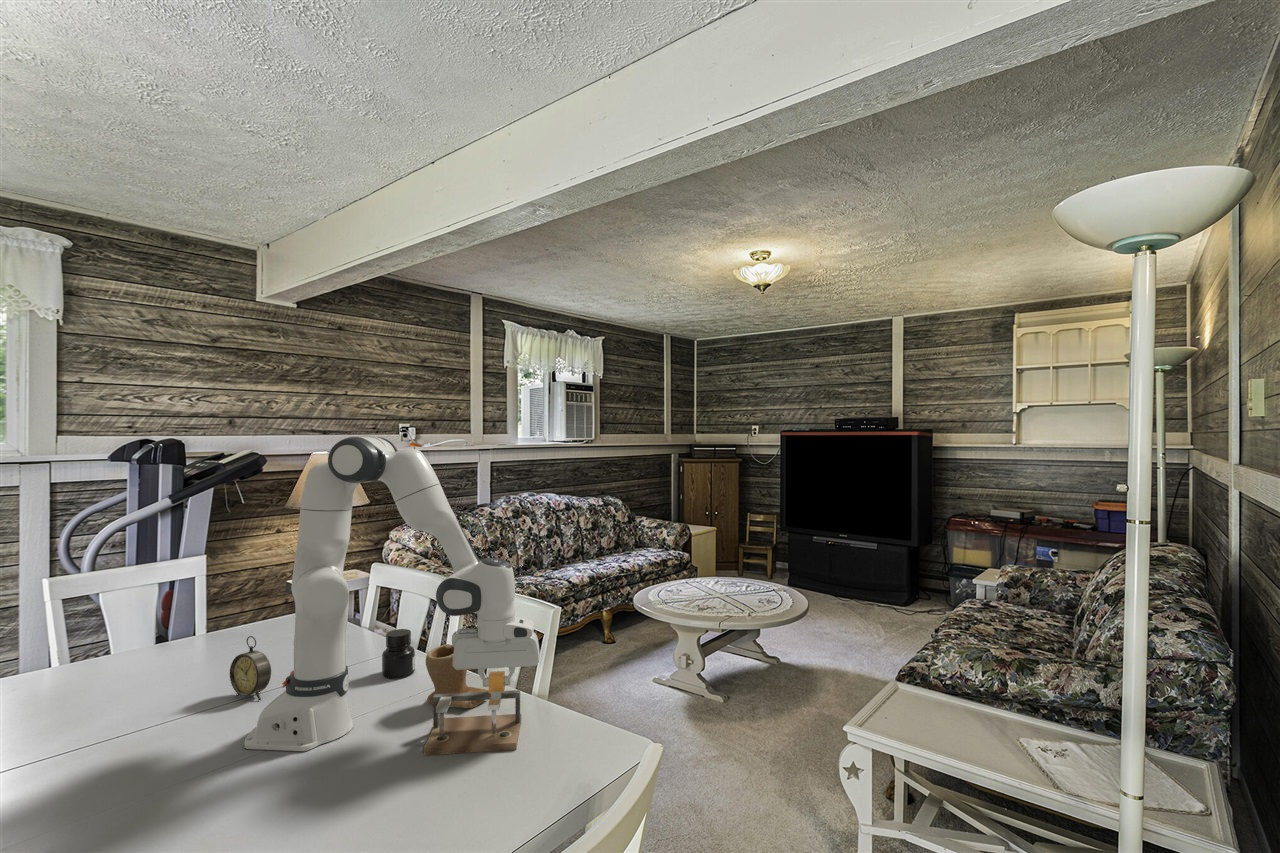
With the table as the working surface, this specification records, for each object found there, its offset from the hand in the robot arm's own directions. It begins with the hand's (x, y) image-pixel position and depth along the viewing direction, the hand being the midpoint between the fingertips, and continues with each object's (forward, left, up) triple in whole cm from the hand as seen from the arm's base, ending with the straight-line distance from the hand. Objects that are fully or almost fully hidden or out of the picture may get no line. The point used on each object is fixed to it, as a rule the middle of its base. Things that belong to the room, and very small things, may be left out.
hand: (497, 685), depth 147 cm
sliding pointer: (0, -3, -8) cm, 9 cm away
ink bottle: (-33, +37, -11) cm, 51 cm away
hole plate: (-5, -3, -11) cm, 12 cm away
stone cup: (-13, +15, -11) cm, 22 cm away
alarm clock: (-68, +26, -11) cm, 73 cm away
